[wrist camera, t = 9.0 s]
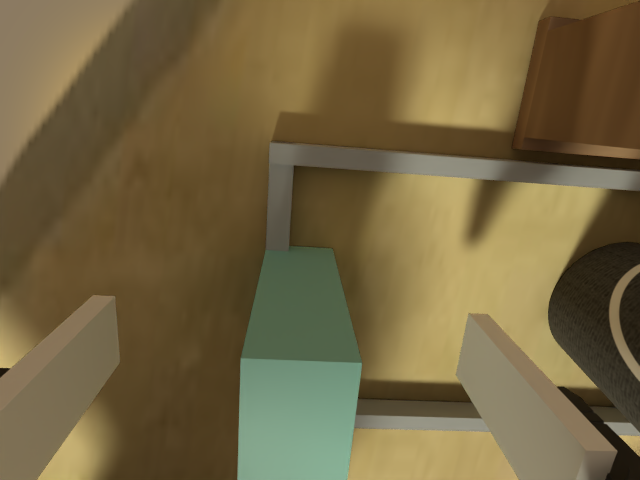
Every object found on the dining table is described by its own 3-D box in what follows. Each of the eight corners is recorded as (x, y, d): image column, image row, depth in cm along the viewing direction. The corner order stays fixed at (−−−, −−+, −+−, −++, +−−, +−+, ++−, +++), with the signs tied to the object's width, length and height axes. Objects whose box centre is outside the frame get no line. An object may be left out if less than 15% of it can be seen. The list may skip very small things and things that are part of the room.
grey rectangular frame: (259, 408, 21) (233, 610, 13) (271, 140, 17) (245, 168, 9) (654, 420, 23) (870, 606, 14) (749, 178, 19) (1131, 233, 10)
